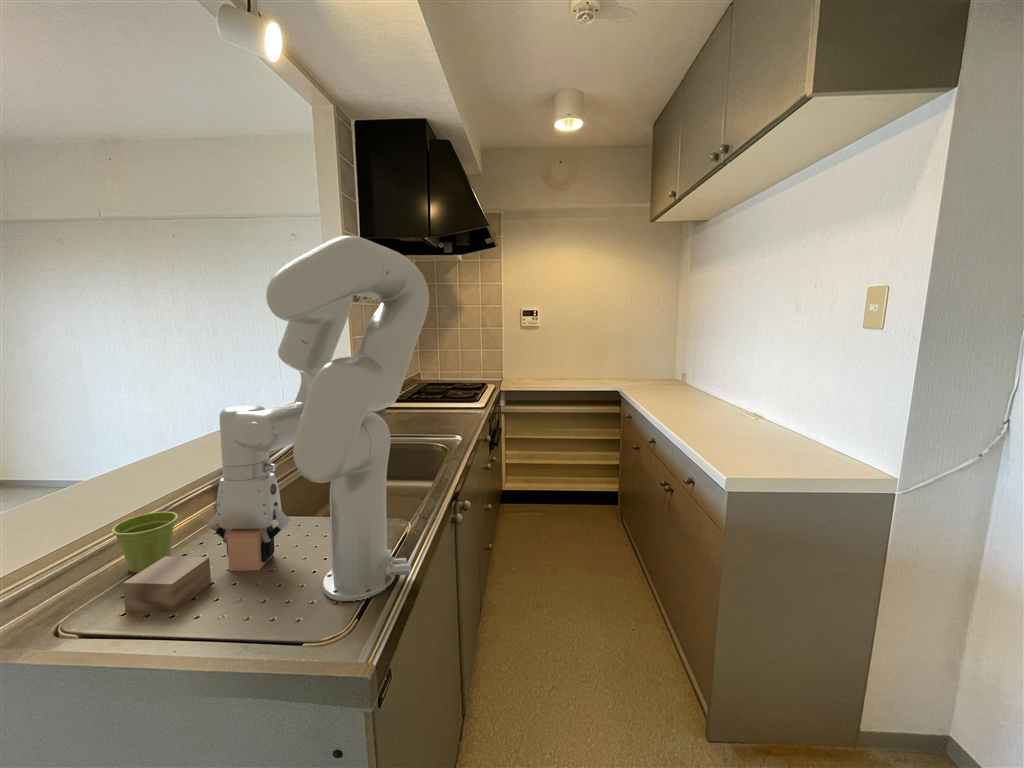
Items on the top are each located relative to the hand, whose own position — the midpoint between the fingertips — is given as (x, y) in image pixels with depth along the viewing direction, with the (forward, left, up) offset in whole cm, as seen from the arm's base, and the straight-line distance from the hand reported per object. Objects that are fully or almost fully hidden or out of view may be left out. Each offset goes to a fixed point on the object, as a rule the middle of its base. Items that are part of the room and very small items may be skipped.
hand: (251, 557), depth 81 cm
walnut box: (+8, +10, -1) cm, 13 cm away
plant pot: (+19, 0, -1) cm, 19 cm away
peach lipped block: (0, 0, -1) cm, 1 cm away
